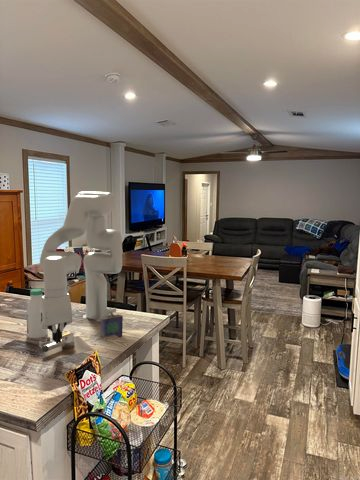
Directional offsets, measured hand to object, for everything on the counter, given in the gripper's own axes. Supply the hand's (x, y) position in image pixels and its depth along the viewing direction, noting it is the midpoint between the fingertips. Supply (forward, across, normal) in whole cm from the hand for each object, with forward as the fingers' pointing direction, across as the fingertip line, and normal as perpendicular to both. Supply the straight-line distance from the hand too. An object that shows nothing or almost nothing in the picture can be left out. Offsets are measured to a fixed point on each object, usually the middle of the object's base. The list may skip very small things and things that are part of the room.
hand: (57, 341), depth 127 cm
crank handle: (+5, -1, -3) cm, 6 cm away
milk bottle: (+7, +1, -22) cm, 23 cm away
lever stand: (+7, -4, -4) cm, 9 cm away
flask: (+7, -24, -6) cm, 26 cm away
